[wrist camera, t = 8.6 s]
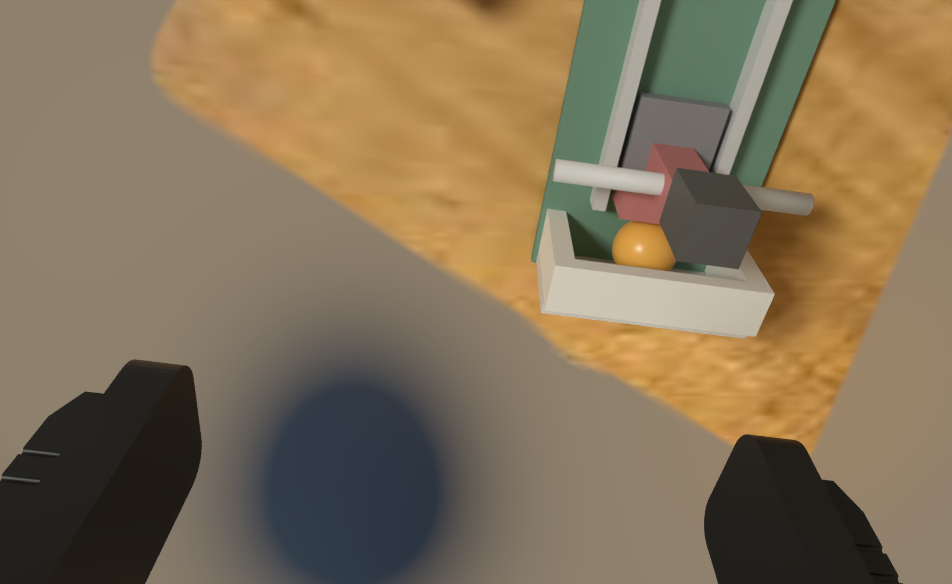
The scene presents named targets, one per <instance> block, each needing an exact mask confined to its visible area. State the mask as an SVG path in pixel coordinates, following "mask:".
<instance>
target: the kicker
mask: <svg viewBox="0 0 952 584" xmlns="http://www.w3.org/2000/svg"><path fill="white" fill-rule="evenodd" d="M729 112H730V109H729V107H728V106H727V105H726V104H723V103H716V102H710V101H703V100H696V99H689V98H682V97H675V96H668V95H661V94H654V93H647V92H640V91H639V95H638V98H637V102H636V106H635V110H634V113H633V117H632V121H631V125H630V128H629V132H628V136H627V140H626V143H625V147H624V151H623V154H622V158H621V162H620V166H619V167H613V166H605V165H598V164H591V163H584V162H576V161H569V160H562V159H556V160H555V163H554V167H553V174H552V181H554V182H561V183H569V184H576V185H583V186H591V187H598V188H605V189H613V190H614V191H613V195H612V198H613V201H614V204H615V207H616V210H617V213H618V217H619V219H624V220H631V221H639V222H646V223H654V224H660V225H661V227H662V229H663V232H664V234H665V236H666V239H667V241H668V243H669V246H670V248H671V250H672V252H673V255H674V257H675V259H676V261H679V262H686V263H694V264H702V265H709V266H717V267H724V268H732V269H739V268H740V265H741V263H742V260H743V258H744V256H745V253H746V251H747V248H748V246H749V243H750V241H751V238H752V236H753V234H754V231H755V229H756V226H757V224H758V221H759V219H760V216H761V214H762V211H761V210H767V211H774V212H782V213H789V214H796V215H804V216H807V215H809V214H810V212H811V211H812V209H813V205H814V197H813V195H812V194H809V193H801V192H794V191H787V190H780V189H772V188H765V187H758V186H751V185H743V184H741V182H740V181H739V180H738V178H737V177H736V176H733V175H726V174H719V173H711V172H709V169H710V166H711V163H712V160H713V158H714V155H715V152H716V149H717V146H718V143H719V140H720V137H721V135H722V132H723V129H724V126H725V123H726V120H727V117H728V114H729Z"/></svg>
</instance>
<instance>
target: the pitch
mask: <svg viewBox="0 0 952 584" xmlns="http://www.w3.org/2000/svg"><path fill="white" fill-rule="evenodd" d="M835 1H836V0H584V4H583V9H582V14H581V19H580V24H579V29H578V34H577V38H576V43H575V48H574V53H573V58H572V63H571V67H570V72H569V77H568V82H567V87H566V92H565V96H564V101H563V106H562V111H561V116H560V121H559V125H558V130H557V135H556V140H555V145H554V150H553V155H552V159H551V164H550V169H549V174H548V179H547V184H546V188H545V193H544V198H543V203H542V208H541V213H540V217H539V222H538V227H537V232H536V237H535V242H534V246H533V251H532V256H531V260H532V262H536V260H537V256H538V251H539V246H540V241H541V237H542V232H543V227H544V223H545V218H546V213H547V209H553V210H561V211H566V213H567V219H568V224H569V230H570V235H571V240H572V246H573V251H574V255H575V256H582V257H590V258H597V259H605V260H613V261H614V259H613V254H612V245H613V241H614V238H615V236H616V234H617V232H618V231H619V230H620V228H621V227H622V226H623V225H625V224H626V223H627V222H629V221H631V220H624V219H619V217H618V213H617V210H616V207H615V204H614V201H613V198H612V195H613V191H614V190H613V189H605V188H598V187H591V186H583V185H576V184H569V183H561V182H554V181H552V174H553V167H554V163H555V160H556V159H562V160H569V161H576V162H584V163H591V164H598V165H605V166H613V167H619V166H620V162H621V158H622V154H623V151H624V147H625V143H626V140H627V136H628V132H629V128H630V125H631V121H632V117H633V113H634V110H635V106H636V102H637V98H638V95H639V91H640V92H647V93H654V94H661V95H668V96H675V97H682V98H689V99H696V100H703V101H710V102H716V103H723V104H726V105H727V106H728V107H729V109H730V112H729V114H728V117H727V120H726V123H725V126H724V129H723V132H722V135H721V137H720V140H719V143H718V146H717V149H716V152H715V155H714V158H713V160H712V163H711V166H710V169H709V172H711V173H719V174H726V175H733V176H736V177H737V178H738V180H739V181H740V182H741V184H743V185H751V186H758V187H761V186H762V184H763V181H764V179H765V176H766V174H767V171H768V169H769V166H770V164H771V161H772V159H773V156H774V154H775V151H776V149H777V146H778V144H779V141H780V139H781V136H782V134H783V131H784V129H785V126H786V124H787V121H788V119H789V116H790V114H791V111H792V109H793V106H794V104H795V101H796V99H797V96H798V94H799V91H800V89H801V86H802V84H803V81H804V79H805V76H806V74H807V71H808V68H809V66H810V63H811V61H812V58H813V56H814V53H815V51H816V48H817V46H818V43H819V41H820V38H821V36H822V33H823V31H824V28H825V26H826V23H827V21H828V18H829V16H830V13H831V11H832V8H833V6H834V3H835ZM706 266H707V265H702V264H694V263H686V262H679V261H676V262H675V264H674V266H673V268H674V269H681V270H689V271H697V272H704V273H705V269H706Z"/></svg>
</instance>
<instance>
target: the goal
mask: <svg viewBox="0 0 952 584" xmlns="http://www.w3.org/2000/svg"><path fill="white" fill-rule="evenodd" d="M536 263H537V274H538V285H539V296H540V308H541V313H546V314H554V315H562V316H570V317H578V318H586V319H593V320H601V321H609V322H617V323H625V324H633V325H641V326H649V327H657V328H665V329H673V330H680V331H688V332H696V333H704V334H712V335H720V336H728V337H736V338H744V339H745V337H746V336H753V337H756V335H757V333H758V330H759V328H760V326H761V324H762V322H763V319H764V317H765V315H766V313H767V311H768V308H769V306H770V304H771V302H772V300H773V297H774V295H775V293H774V292H773V290H772V289H771V287H770V285H769V284H768V282H767V281H766V279H765V277H764V276H763V274H762V273H761V271H760V269H759V268H758V266H757V265H756V263H755V261H754V260H753V258H752V256H751V255H750V253H749V252H748V250H747V251H746V253H745V256H744V258H743V260H742V263H741V265H740V268H739V269H732V268H724V267H717V266H709V265H707V266H706V269H705V273H704V272H697V271H689V270H681V269H674V268H672V269H671V270H670V271H662V270H654V269H647V268H639V267H631V266H624V265H616V264H615V262H614V261H613V260H605V259H597V258H590V257H582V256H575V255H574V251H573V246H572V240H571V235H570V230H569V224H568V219H567V213H566V211H561V210H553V209H547V213H546V218H545V223H544V227H543V232H542V237H541V241H540V246H539V251H538V256H537V260H536Z"/></svg>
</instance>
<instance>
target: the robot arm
mask: <svg viewBox="0 0 952 584" xmlns="http://www.w3.org/2000/svg"><path fill="white" fill-rule="evenodd" d="M201 449H202V441H201V432H200V424H199V417H198V409H197V402H196V393H195V386H194V378H193V373H192V370H191V369H190V368H189V367H188V366H185V365H176V364H169V363H160V362H152V361H143V360H131V361H129V362H128V363H127V364H126V365H125V366H124V367H123V368H122V369H121V371H120V372H119V374H118V375H117V376H116V378H115V379H114V380H113V382H112V383H111V384H110V386H109V387H108V389H107V390H106V391H105V393H104V394H101V393H92V392H84V393H82V394H81V395H79V396H78V397H76V398H75V399H73V400H72V401H71V402H69V403H68V404H66V405H65V406H63V407H62V408H60V409H59V410H57V411H56V412H54V413H53V414H52V415H50V416H48V418H47V419H46V420H45V421H44V422H43V424H42V425H41V426H40V428H39V429H38V430H37V431H36V432H35V434H34V435H33V437H32V438H31V439H30V440H29V441H28V442H27V444H26V445H25V446H24V448H23V453H22V454H18V455H17V456H16V458H15V459H14V460H13V461H12V463H11V464H10V465H9V466H8V468H7V469H6V470H5V471H4V473H3V474H2V479H1V481H0V584H145V583H146V581H147V578H148V576H149V575H150V572H151V570H152V568H153V566H154V564H155V562H156V560H157V558H158V556H159V554H160V552H161V550H162V548H163V546H164V543H165V542H166V539H167V537H168V535H169V533H170V531H171V529H172V527H173V525H174V523H175V521H176V519H177V517H178V515H179V513H180V511H181V508H182V506H183V504H184V502H185V500H186V498H187V496H188V494H189V492H190V490H191V488H192V486H193V483H194V481H195V478H196V475H197V472H198V468H199V464H200V459H201ZM704 532H705V539H706V544H707V548H708V551H709V554H710V558H711V561H712V564H713V568H714V571H715V574H716V578H717V581H718V584H903V583H899V582H898V574H897V572H896V571H895V569H894V567H893V565H892V563H891V561H890V560H889V558H888V556H887V554H883V553H882V545H881V543H880V541H879V540H878V538H877V536H876V534H875V532H874V531H873V529H872V527H871V525H870V523H869V521H868V520H867V518H866V516H865V514H864V512H863V511H862V510H861V509H860V508H859V507H858V506H857V505H856V504H855V503H854V502H853V501H852V500H851V499H850V498H849V497H848V496H847V495H846V494H845V493H844V492H843V491H842V490H841V489H840V487H838V485H837V484H836V483H834V481H829V480H822V479H821V477H820V475H819V473H818V472H817V470H816V468H815V466H814V464H813V462H812V460H811V458H810V456H809V454H808V452H807V450H806V449H805V447H804V446H803V445H802V444H801V443H800V442H799V441H796V440H790V439H781V438H773V437H764V436H756V435H743V436H741V437H740V438H739V439H738V441H737V442H736V444H735V446H734V448H733V450H732V452H731V454H730V456H729V458H728V460H727V463H726V465H725V467H724V469H723V471H722V473H721V475H720V477H719V479H718V481H717V483H716V485H715V487H714V489H713V491H712V494H711V495H710V497H709V500H708V502H707V505H706V510H705V517H704Z"/></svg>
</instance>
